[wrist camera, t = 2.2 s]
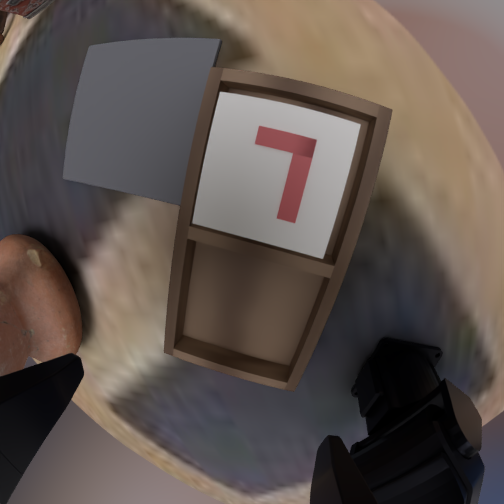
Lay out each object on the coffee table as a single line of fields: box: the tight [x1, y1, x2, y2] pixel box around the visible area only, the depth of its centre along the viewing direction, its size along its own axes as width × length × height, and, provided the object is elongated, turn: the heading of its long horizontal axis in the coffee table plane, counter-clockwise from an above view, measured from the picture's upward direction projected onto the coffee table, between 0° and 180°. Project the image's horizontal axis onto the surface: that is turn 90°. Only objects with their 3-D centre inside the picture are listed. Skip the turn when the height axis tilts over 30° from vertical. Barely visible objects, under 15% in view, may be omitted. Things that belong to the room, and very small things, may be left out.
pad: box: [63, 38, 222, 205], centre depth 17 cm, size 12×12×1 cm
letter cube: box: [192, 92, 361, 259], centre depth 14 cm, size 6×6×6 cm
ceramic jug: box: [0, 234, 82, 376], centre depth 18 cm, size 18×14×14 cm
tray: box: [164, 67, 392, 392], centre depth 18 cm, size 11×20×2 cm, turn 167°
